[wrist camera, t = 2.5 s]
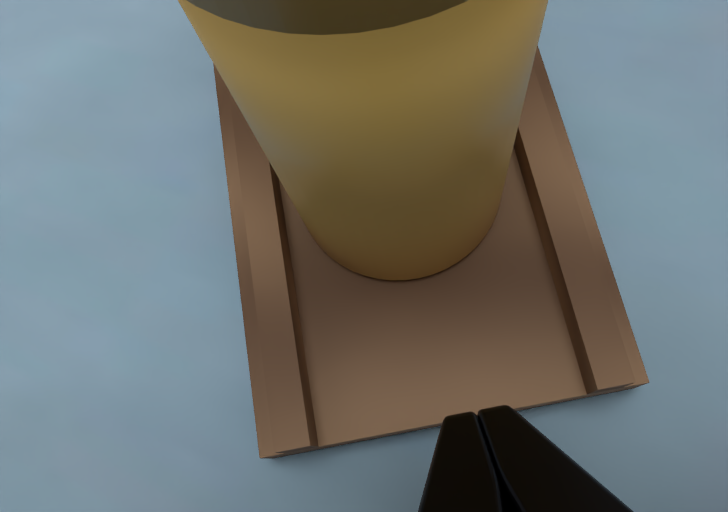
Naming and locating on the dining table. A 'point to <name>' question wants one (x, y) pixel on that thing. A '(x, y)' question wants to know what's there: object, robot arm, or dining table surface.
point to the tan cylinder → (381, 115)
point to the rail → (426, 304)
